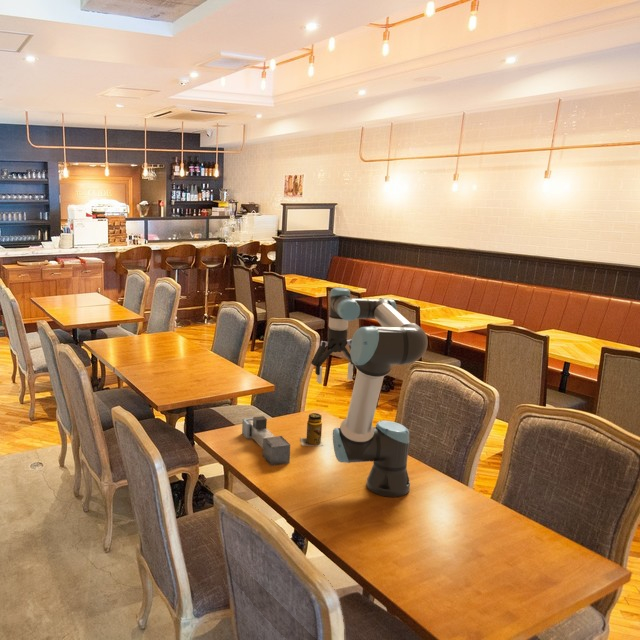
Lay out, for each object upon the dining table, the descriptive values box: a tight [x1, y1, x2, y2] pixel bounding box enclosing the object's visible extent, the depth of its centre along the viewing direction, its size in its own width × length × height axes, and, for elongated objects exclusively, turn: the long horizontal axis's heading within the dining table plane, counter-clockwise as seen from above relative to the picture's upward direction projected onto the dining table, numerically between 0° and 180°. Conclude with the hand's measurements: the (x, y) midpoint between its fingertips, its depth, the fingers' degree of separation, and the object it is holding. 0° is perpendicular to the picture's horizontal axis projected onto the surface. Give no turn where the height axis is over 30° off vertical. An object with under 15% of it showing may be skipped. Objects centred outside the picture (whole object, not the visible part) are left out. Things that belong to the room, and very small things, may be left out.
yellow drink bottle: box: [300, 412, 324, 447], centre depth 243 cm, size 7×8×12 cm
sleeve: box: [262, 435, 291, 467], centre depth 225 cm, size 9×8×7 cm
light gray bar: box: [248, 415, 276, 450], centre depth 238 cm, size 22×4×9 cm, turn 26°
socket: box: [241, 417, 253, 440], centre depth 247 cm, size 6×8×6 cm
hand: (334, 381), depth 232 cm, fingers open, 13 cm apart
